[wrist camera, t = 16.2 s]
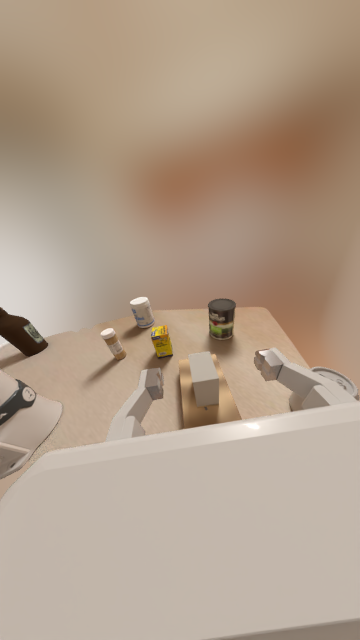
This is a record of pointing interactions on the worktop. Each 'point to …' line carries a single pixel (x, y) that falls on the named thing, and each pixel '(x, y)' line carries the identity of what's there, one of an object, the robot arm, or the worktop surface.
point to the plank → (210, 413)
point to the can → (332, 375)
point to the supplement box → (161, 341)
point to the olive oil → (21, 334)
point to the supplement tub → (142, 312)
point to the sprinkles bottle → (113, 343)
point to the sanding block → (204, 379)
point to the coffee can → (221, 318)
